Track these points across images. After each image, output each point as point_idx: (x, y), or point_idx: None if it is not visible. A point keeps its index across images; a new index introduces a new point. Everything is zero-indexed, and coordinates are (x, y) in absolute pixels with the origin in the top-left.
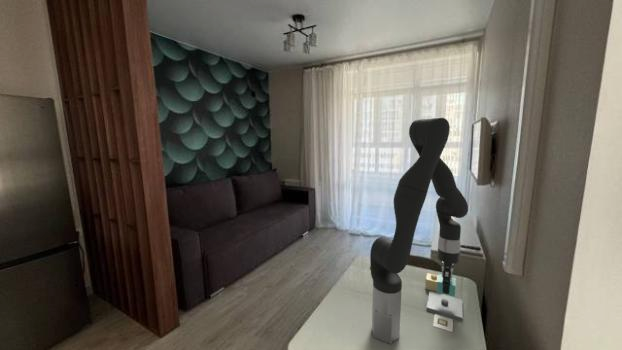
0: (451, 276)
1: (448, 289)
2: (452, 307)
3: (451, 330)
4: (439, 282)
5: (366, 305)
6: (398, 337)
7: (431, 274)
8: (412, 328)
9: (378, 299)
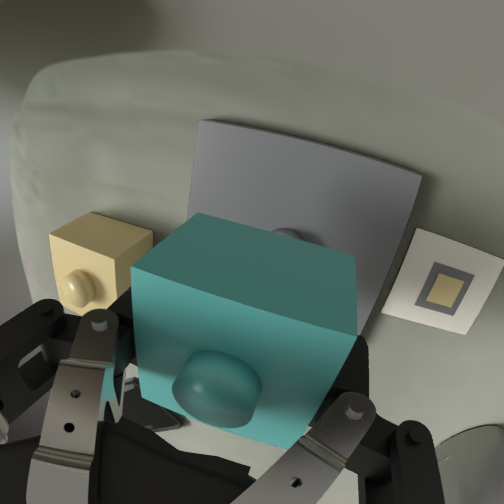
0: (322, 491)
1: (351, 356)
2: (320, 210)
3: (497, 262)
4: (298, 438)
5: (348, 479)
6: (498, 427)
7: (61, 287)
8: (468, 397)
9: None
